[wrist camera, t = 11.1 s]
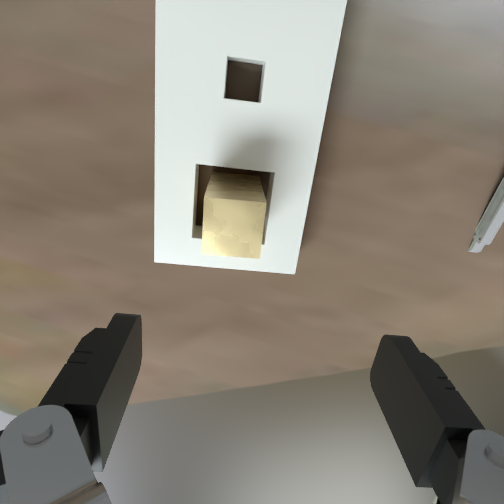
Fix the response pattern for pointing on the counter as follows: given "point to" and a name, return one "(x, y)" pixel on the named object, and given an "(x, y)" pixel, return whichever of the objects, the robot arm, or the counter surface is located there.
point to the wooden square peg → (233, 215)
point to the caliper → (489, 221)
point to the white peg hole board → (240, 115)
